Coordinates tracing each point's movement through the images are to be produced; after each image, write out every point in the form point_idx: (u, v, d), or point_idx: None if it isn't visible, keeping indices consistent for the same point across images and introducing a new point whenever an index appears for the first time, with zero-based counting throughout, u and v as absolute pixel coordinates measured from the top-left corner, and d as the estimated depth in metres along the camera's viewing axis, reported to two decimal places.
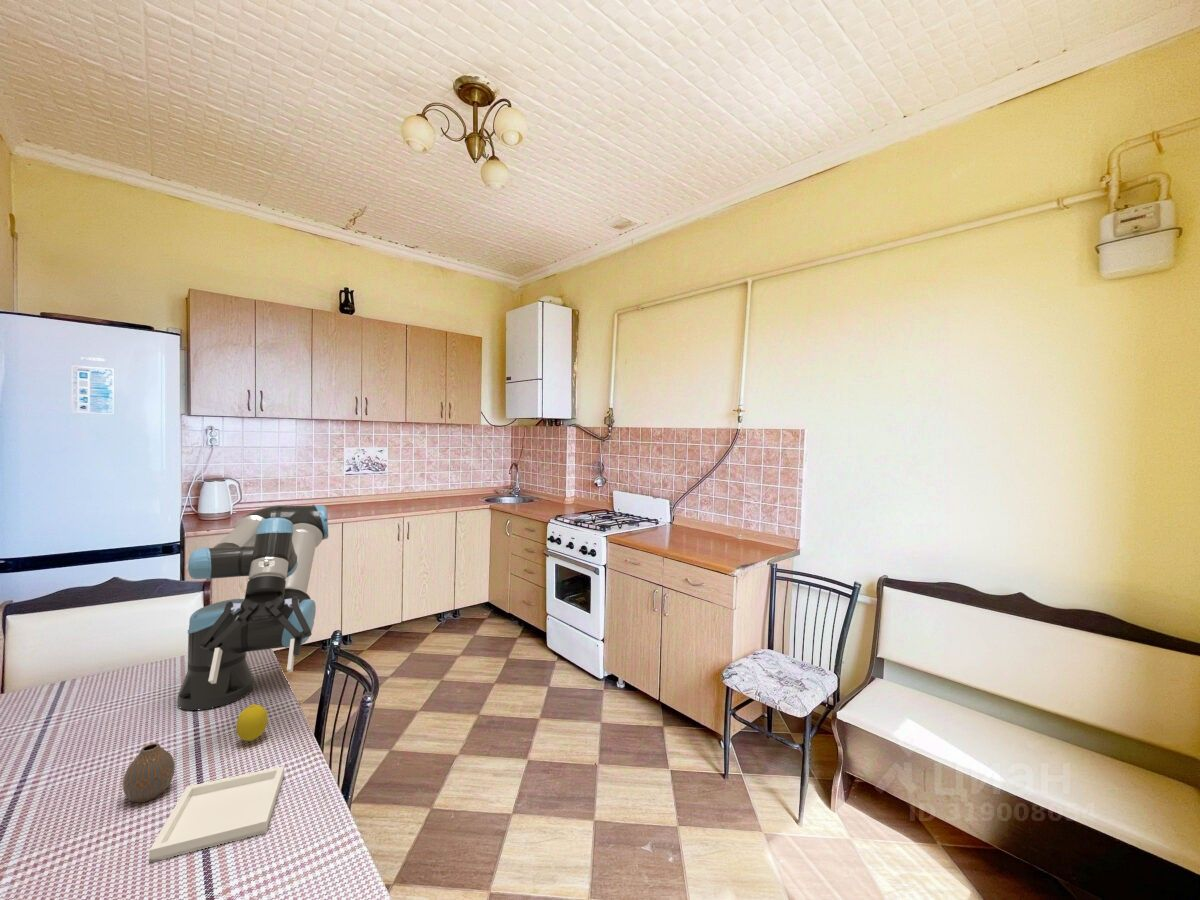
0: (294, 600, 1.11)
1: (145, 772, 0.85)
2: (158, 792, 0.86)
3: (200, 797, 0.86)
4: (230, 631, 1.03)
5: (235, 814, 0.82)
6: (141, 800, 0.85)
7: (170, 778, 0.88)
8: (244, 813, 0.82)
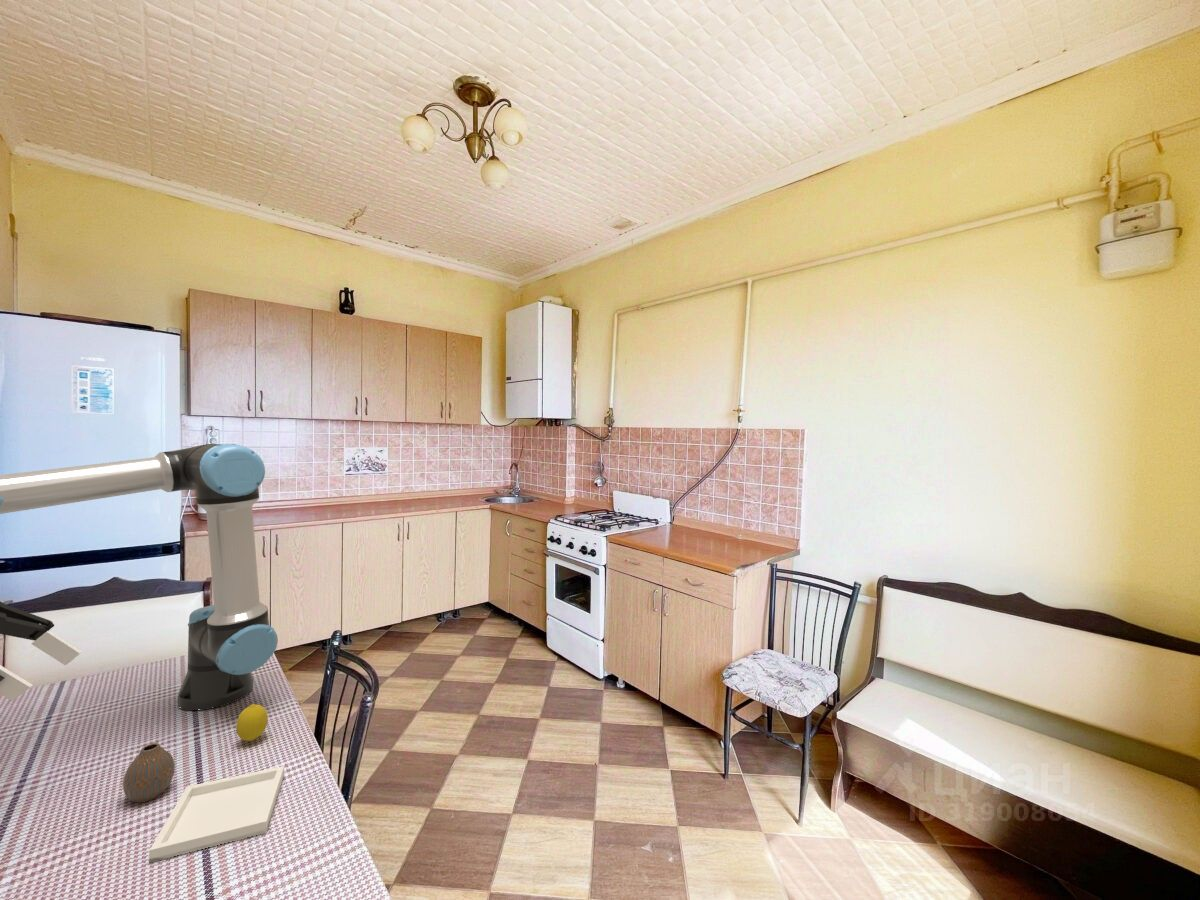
0: None
1: (146, 772, 0.85)
2: (158, 792, 0.86)
3: (200, 797, 0.86)
4: (9, 634, 0.83)
5: (235, 814, 0.82)
6: (141, 800, 0.85)
7: (170, 778, 0.88)
8: (244, 813, 0.82)
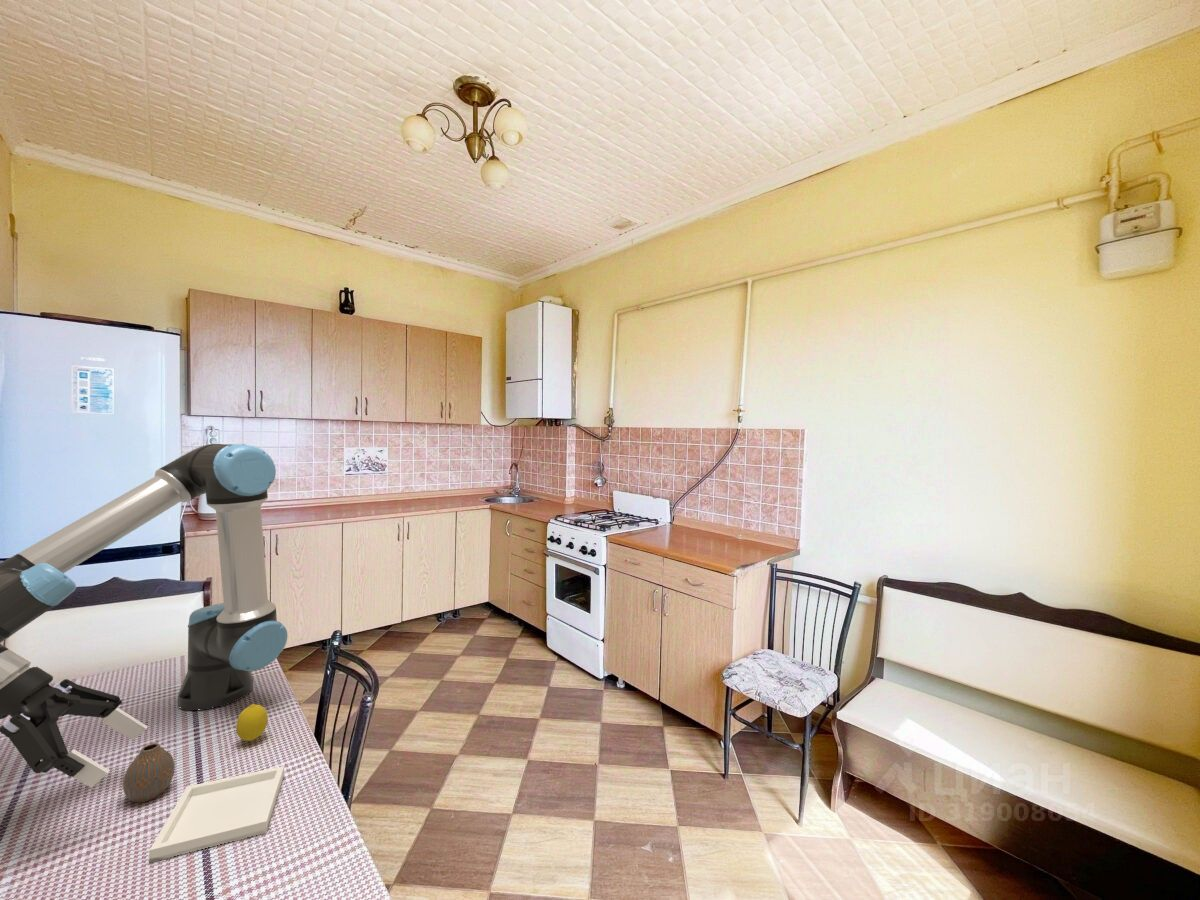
0: None
1: (145, 772, 0.85)
2: (158, 792, 0.86)
3: (200, 797, 0.86)
4: (82, 714, 0.87)
5: (235, 814, 0.82)
6: (141, 800, 0.85)
7: (170, 778, 0.88)
8: (244, 813, 0.82)
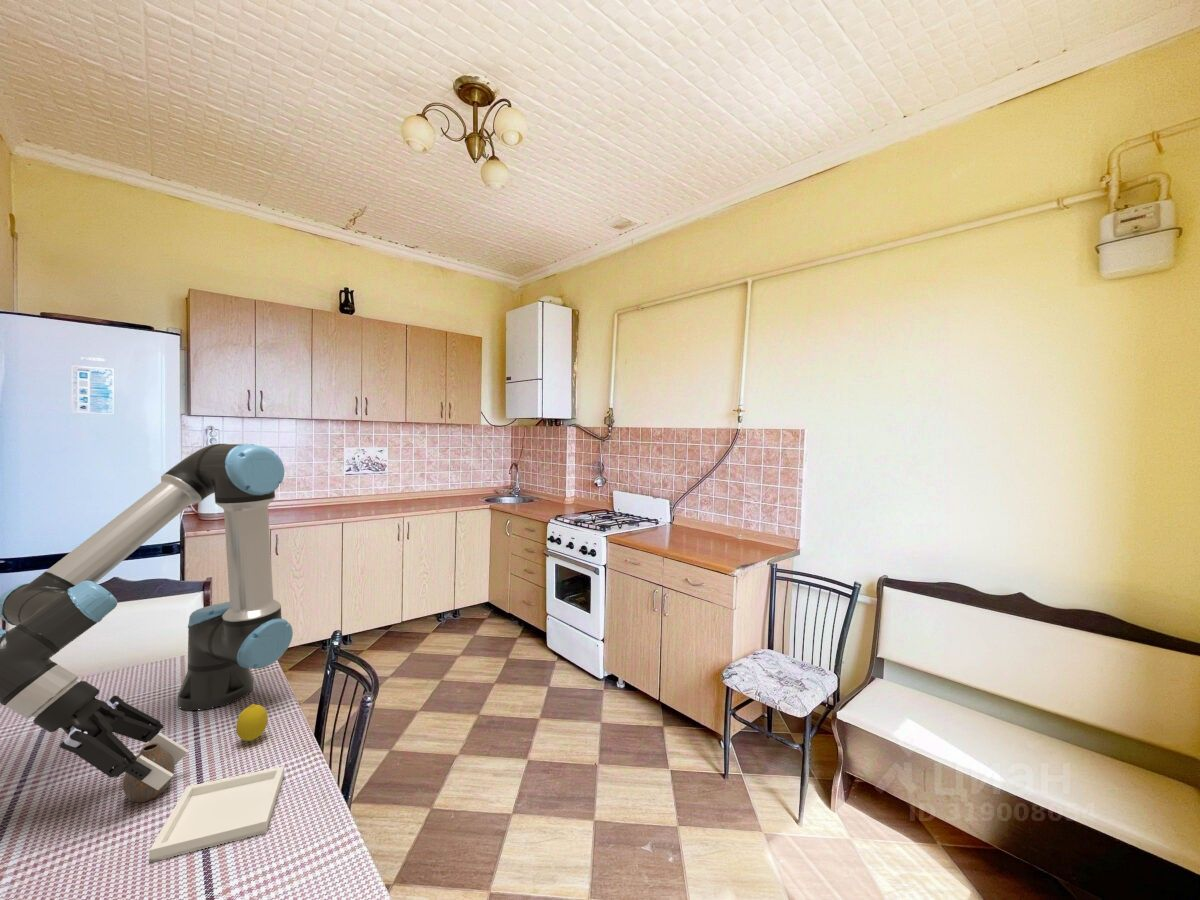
0: None
1: None
2: (158, 792, 0.86)
3: (200, 797, 0.86)
4: (125, 735, 0.88)
5: (235, 814, 0.82)
6: (141, 800, 0.85)
7: (170, 778, 0.88)
8: (244, 813, 0.82)
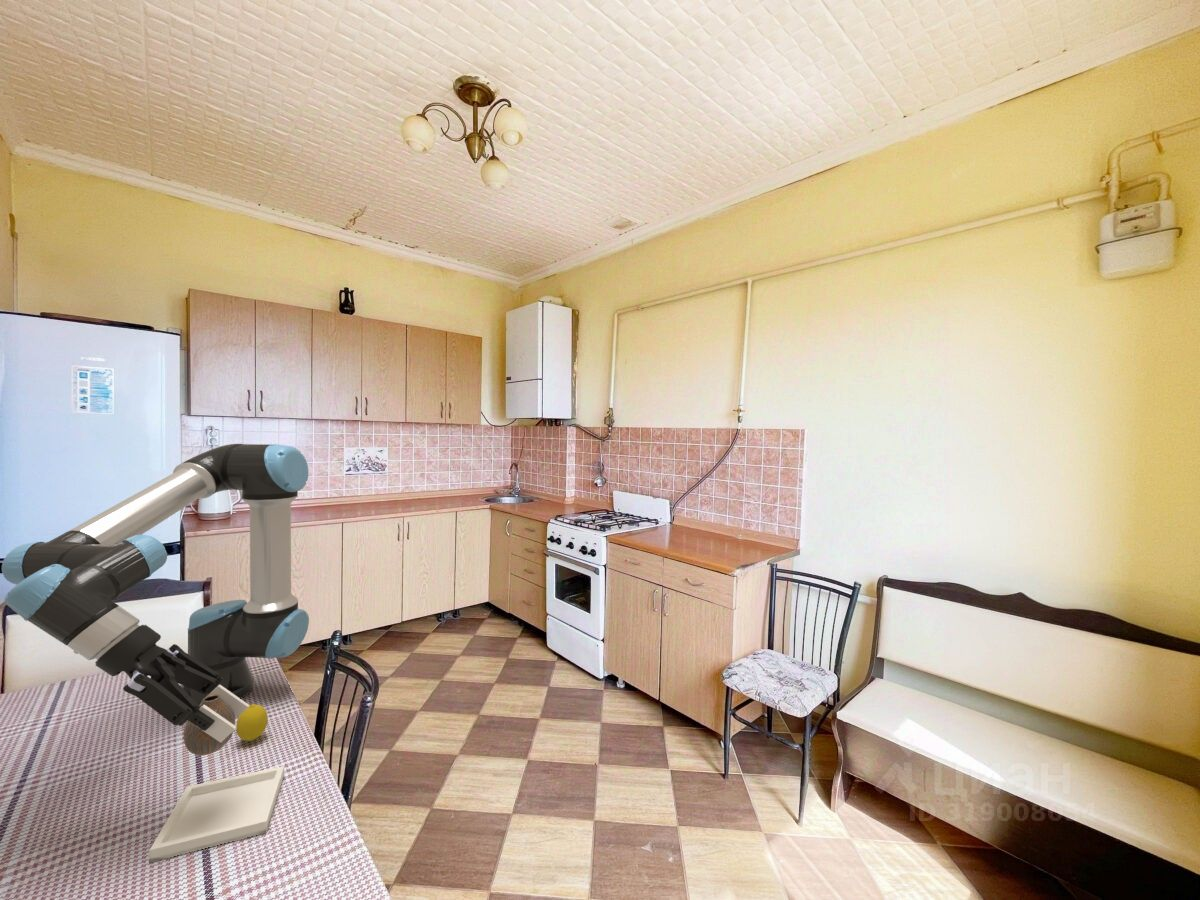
0: None
1: None
2: (219, 745, 0.81)
3: (200, 797, 0.86)
4: (185, 685, 0.83)
5: (235, 814, 0.82)
6: (203, 753, 0.80)
7: None
8: (244, 813, 0.82)
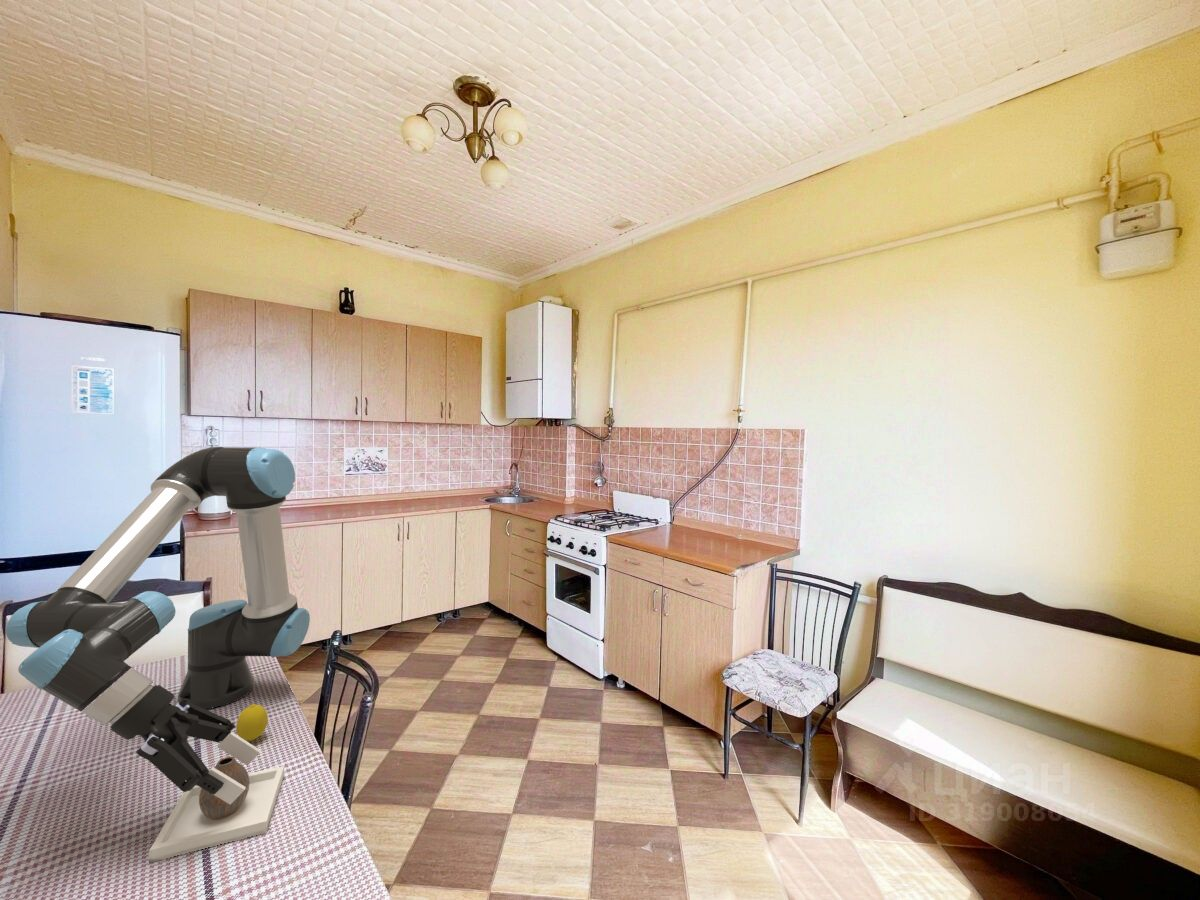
0: None
1: None
2: (235, 808, 0.82)
3: None
4: (198, 737, 0.85)
5: (235, 814, 0.82)
6: (218, 817, 0.81)
7: (246, 793, 0.84)
8: (244, 813, 0.82)
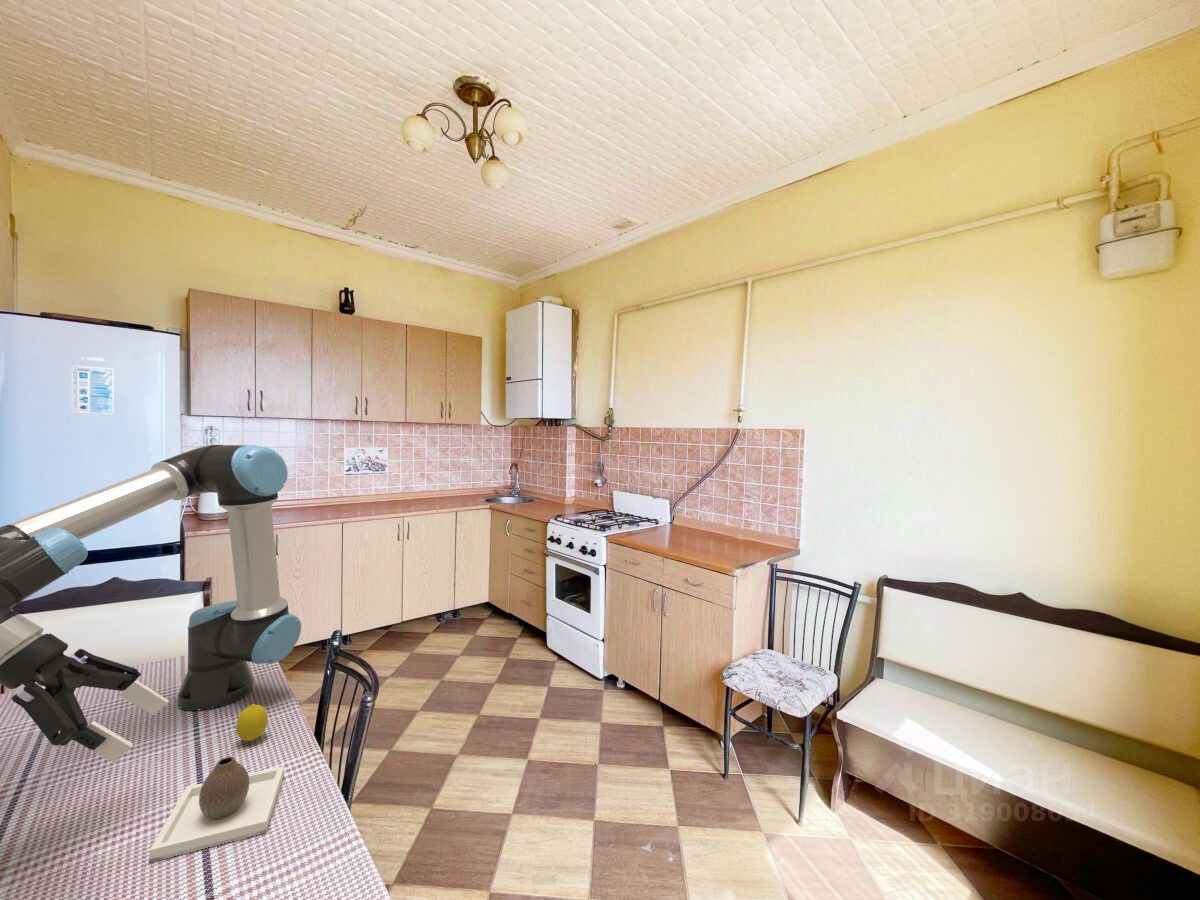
0: None
1: (223, 788, 0.80)
2: (235, 808, 0.82)
3: None
4: (98, 687, 0.80)
5: (235, 814, 0.82)
6: (218, 817, 0.81)
7: (246, 793, 0.84)
8: (244, 813, 0.82)
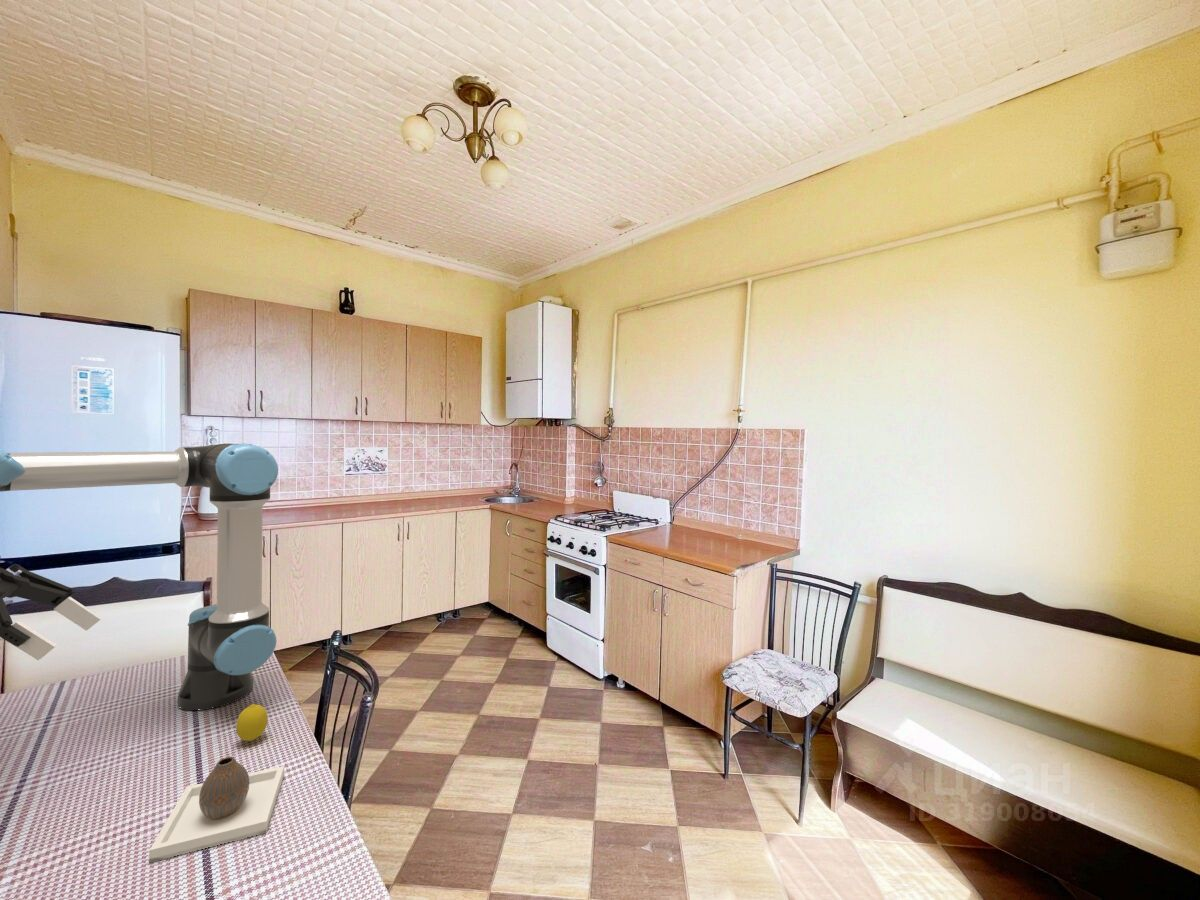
0: None
1: (223, 788, 0.80)
2: (235, 808, 0.82)
3: None
4: (32, 599, 0.86)
5: (235, 814, 0.82)
6: (218, 817, 0.81)
7: (246, 793, 0.84)
8: (244, 813, 0.82)
